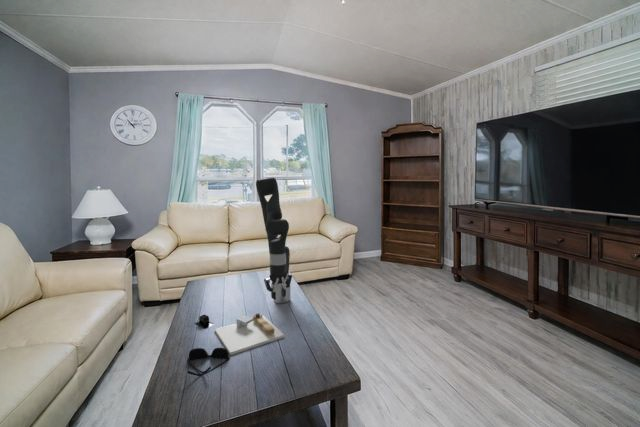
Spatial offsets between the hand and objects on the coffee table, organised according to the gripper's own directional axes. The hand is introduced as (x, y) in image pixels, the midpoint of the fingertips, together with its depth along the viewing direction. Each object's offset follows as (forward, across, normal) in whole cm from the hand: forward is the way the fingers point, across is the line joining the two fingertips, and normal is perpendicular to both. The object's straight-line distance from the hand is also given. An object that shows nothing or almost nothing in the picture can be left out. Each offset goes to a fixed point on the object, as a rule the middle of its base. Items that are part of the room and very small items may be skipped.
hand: (278, 297), depth 140 cm
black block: (+18, +27, -29) cm, 44 cm away
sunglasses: (+18, +36, +8) cm, 41 cm away
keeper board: (+17, +12, -7) cm, 22 cm away
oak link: (+15, +5, -7) cm, 18 cm away
